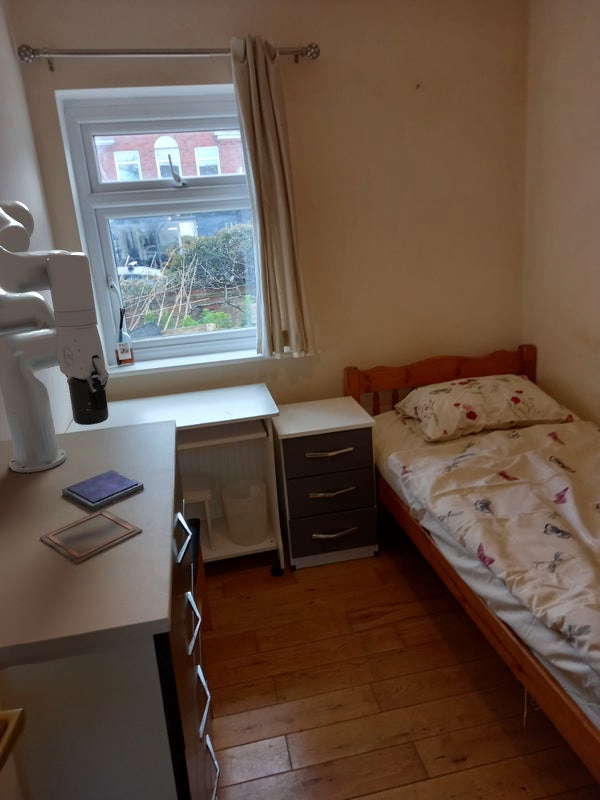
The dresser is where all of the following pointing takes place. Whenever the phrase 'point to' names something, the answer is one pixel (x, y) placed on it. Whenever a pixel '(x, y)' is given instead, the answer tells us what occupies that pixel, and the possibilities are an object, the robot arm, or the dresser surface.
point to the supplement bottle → (84, 403)
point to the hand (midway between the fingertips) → (89, 405)
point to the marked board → (90, 535)
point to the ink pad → (102, 490)
